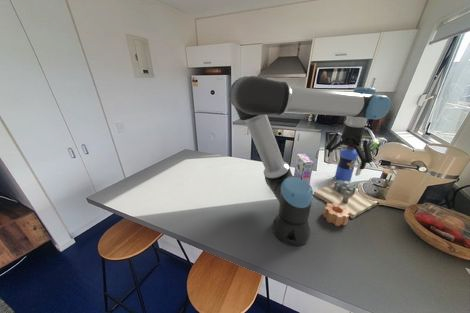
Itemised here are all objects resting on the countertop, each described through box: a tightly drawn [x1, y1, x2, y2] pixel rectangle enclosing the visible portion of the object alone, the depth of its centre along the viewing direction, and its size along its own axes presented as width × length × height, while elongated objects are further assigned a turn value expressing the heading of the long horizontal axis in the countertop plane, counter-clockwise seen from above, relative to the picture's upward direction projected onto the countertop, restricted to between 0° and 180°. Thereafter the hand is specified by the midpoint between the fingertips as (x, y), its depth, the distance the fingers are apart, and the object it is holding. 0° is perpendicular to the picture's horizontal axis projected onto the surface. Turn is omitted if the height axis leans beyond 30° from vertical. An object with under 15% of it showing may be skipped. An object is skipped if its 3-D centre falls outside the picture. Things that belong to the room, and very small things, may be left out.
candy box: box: [293, 153, 314, 185], centre depth 110 cm, size 14×6×16 cm, turn 179°
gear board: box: [313, 182, 378, 219], centre depth 95 cm, size 24×22×8 cm
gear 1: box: [334, 180, 357, 196], centre depth 99 cm, size 10×10×5 cm
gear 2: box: [322, 203, 350, 227], centre depth 81 cm, size 10×10×5 cm
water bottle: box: [334, 145, 359, 183], centre depth 111 cm, size 9×9×25 cm
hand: (342, 168), depth 85 cm, fingers open, 13 cm apart
